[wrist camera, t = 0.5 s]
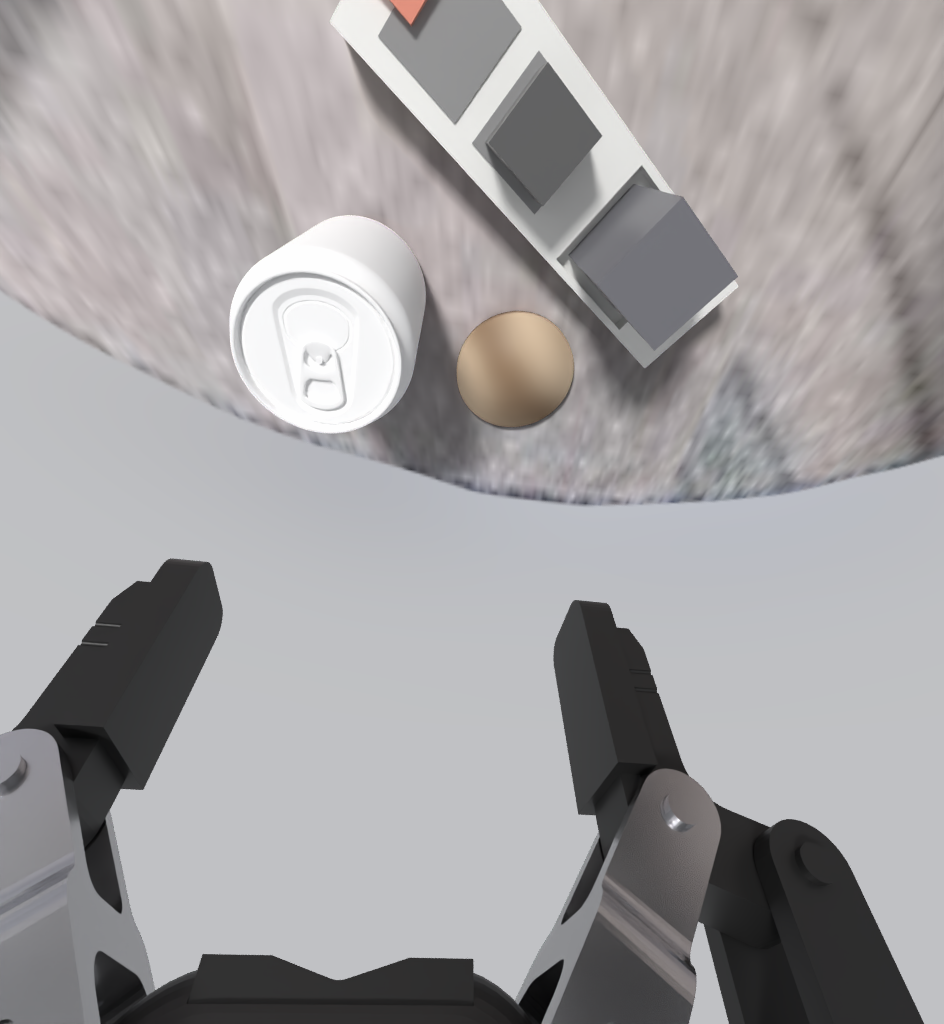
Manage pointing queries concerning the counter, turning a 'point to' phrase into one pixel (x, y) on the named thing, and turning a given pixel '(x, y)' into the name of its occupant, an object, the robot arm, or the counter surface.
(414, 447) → the counter surface
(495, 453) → the counter surface
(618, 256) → the block
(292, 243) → the beverage can
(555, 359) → the coaster
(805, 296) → the counter surface
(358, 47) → the power strip
